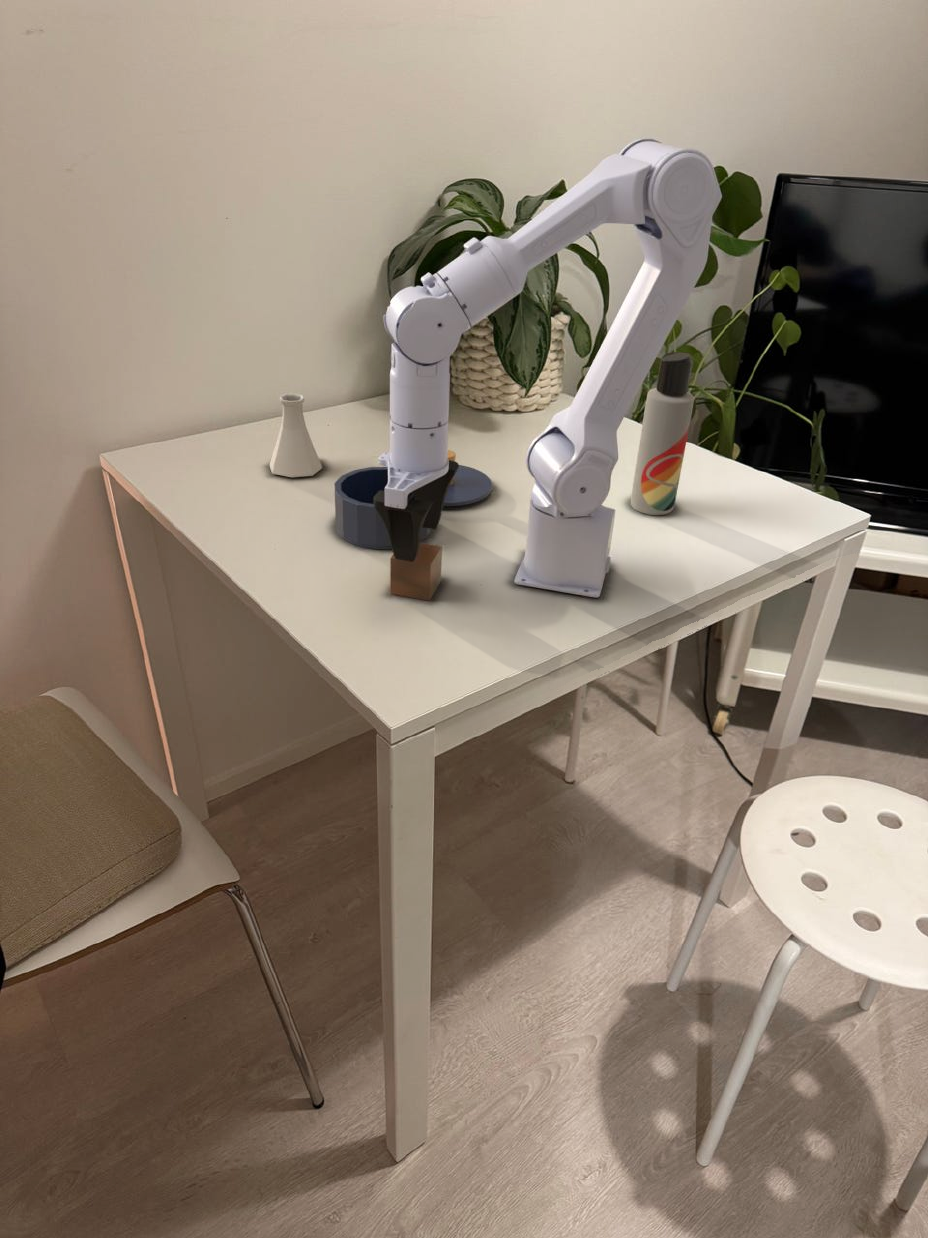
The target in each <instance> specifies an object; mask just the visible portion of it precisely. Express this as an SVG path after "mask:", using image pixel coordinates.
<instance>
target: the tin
mask: <svg viewBox="0 0 928 1238" xmlns="http://www.w3.org/2000/svg"><path fill="white" fill-rule="evenodd" d="M387 484H388V467H387V466H369V467H363V468H359V469H354V470H352V471H349V472H347V473H344V474H341V476H340V477H339V478H338V479H336V480H335V482H334V484H333V486H334V514H335V530H336V533H337V534H338V536H339V537H340V538H341V539H343V540H344V541H345V542H346V543H347V542H348V543H349V544H350V545H351V544H352V545H354V546H356V547H360V548H365V549H372V550H392V546H391V543H390V539H389V535H388V532H387V529H386V526H385V524H384V522H383V520H382V518H381V516H380V515H379V513H378V512H377V510H376V509H375V508H374V496H375V495H376V494H377V493H378V492H379V491H380V490H381V491H385V487H386V485H387ZM431 532H432V529H429V528H424V527H422V531H421V537H420V543H422V542H423V541H425V540H426V539H427V538H428V537H429V536H430V534H431Z"/></svg>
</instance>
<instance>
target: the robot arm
mask: <svg viewBox="0 0 928 1238" xmlns="http://www.w3.org/2000/svg"><path fill="white" fill-rule="evenodd" d="M722 198H723V195H722V192H721V188H720V184H719V181H718V177H717V174H716V170H715V167H714V166H713V163H712V162H711V160H710V159H709V157H708V156H707V155H706V154H705V153H703V152H702V151H700V150H698V149H695V148H692V147H687V148H685V147H684V148H683V147H679V146H674V145H670V144H665V143H662V142H661V141H658V140H656V139H653V138H647V137H643V138H639V139H635V140H633V141H631V142H629V143H628V144H627V145H625V146H624V147H623V148H622V149H621V151H620V152H619V153H617V152H616V153H613V154H611V155H609V156H607V157H605V158H604V159H603V160H601V161H600V163H598V164H597V166H596V167H595V168H594V169H593V170H592V171H591V172H590V173H589V174H587V175H586V176H585V177H583V179H581V180H580V181H579V182H577V183H576V184H575V185H573V186H572V187H571V188H570V189H568V190H567V191H566V192H565V193H563V194H562V195H561V196H560V197H558V198H557V199H556V200H554V201H553V202H551V204H550V205H548V206H547V207H546V208H544V209H543V210H542V211H541V212H539V213H538V214H537V215H535V216H534V217H533V218H532V219H531V220H529V221H528V222H527V223H526V224H524V225H523V226H522V227H521V228H519V229H518V230H516V232H514V233H513V234H512V235H511V236H509V237H508V238H501V237H498V236H493V235H487V236H486V237H484V238H483V239H481V240H480V239H478V238H477V237H472V238H471V239H469V240H468V241H466V242H465V243H464V244H463V248H464V249H465V252H463V253H462V254H460V256H458V257H456V258H455V259H454V260H452V261H450V262H449V263H448V264H446V265H445V266H444V267H443V268H441V269H440V270H438V271H436V273H434V274H432V273H430V272H427V273H426V274H424V275H423V276H421V278H420V281H421V283H422V285H423V286H421V285H416V286H412V285H410V286H408V287H404V288H403V289H401V290H399V291H398V292H397V293H396V294H395V295H394V296H393V297H392V298H391V300H390V301H389V303H390V304H389V305H388V306H387V309H386V313H385V314H383V317H382V318H383V319H382V321H383V325H384V329H385V331H386V332H387V334H388V336H389V337H390V338H391V340H392V341H393V342H392V343H391V354H390V363H391V367H390V371H389V451H385V452H382V454H381V455H379V457H378V465H379V466H381V467H388V484H387V485H386V487H385V491H381V490H380V491H379V492H378V493H377V494H376V495H375V496H374V508H375V509H376V510H377V512H378V513H379V515H380V516H381V518H382V520H383V522H384V524H385V526H386V529H387V532H388V535H389V539H390V543H391V546H392V549H391V550H392V553H393V554H394V557H395V559H399V560H405V561H410V562H414V560H415V559H416V556H417V553H418V549H419V543H421V542H420V537H421V531H422V527H424V528H429V529H431V530H436V529H438V525H439V523H440V520H441V517H442V513H443V510H444V509H443V508H444V506H443V505H444V501H445V497H446V494H447V491H448V488H449V486H450V483H451V481H452V479H453V477H454V475H455V474H456V472H457V470H458V469H459V465H460V464H459V463H458V462H457V461H456V460H455V461H451V460H448V454H447V453H448V450H449V416H450V415H449V413H450V388H451V385H450V384H451V373H450V366H451V365H450V364H451V363H450V360H451V358H450V357H451V356H452V355H453V354H454V353H455V351H456V349H457V348H458V346H459V344H460V340H461V337H462V335H463V333H465V332H467V331H469V330H470V329H471V328H473V327H474V326H476V325H477V324H479V323H480V322H481V321H483V320H484V319H486V318H487V317H489V316H490V315H492V313H494V312H495V311H497V310H498V309H500V308H501V307H503V306H504V305H506V304H507V303H508V302H509V301H511V300H512V299H514V298H515V297H517V296H518V295H520V294H521V293H522V292H523V289H524V287H525V284H526V280H527V276H528V273H529V272H530V271H531V270H532V269H534V268H536V267H537V266H538V265H540V264H542V263H543V262H545V261H546V260H548V259H550V258H551V257H552V256H554V255H556V254H558V253H559V252H560V251H562V250H563V249H565V248H567V247H569V246H570V245H572V244H573V243H575V242H577V241H578V240H579V239H581V238H583V237H584V236H586V235H587V234H589V233H590V232H592V231H594V230H595V229H597V228H599V227H600V226H601V225H604V224H622V225H633V227H634V229H635V232H636V235H637V237H638V241H639V244H640V247H641V249H642V250H641V251H642V253H643V257H644V261H643V263H642V265H641V266H640V269H639V270H638V273H637V275H636V277H635V278H634V280H633V283H632V284H631V287H630V288H629V291H628V292H627V294H626V296H625V298H624V299H623V302H622V304H621V306H620V307H619V309H618V312H617V314H616V316H615V317H614V320H613V321H612V324H611V325H610V328H609V330H608V332H607V334H606V336H605V337H604V339H603V341H602V343H601V345H600V348H599V350H598V351H597V353H596V355H595V357H594V359H593V360H592V363H591V365H590V367H589V369H588V371H587V373H586V375H585V377H584V378H583V381H582V383H581V385H580V387H579V388H578V391H577V392H576V394H575V397H574V398H573V401H572V402H571V405H570V406H567V407H566V408H564V409H562V410H560V411H558V412H557V413H555V414H554V415H553V416H552V418H551V420H550V422H549V423H548V425H547V427H546V428H545V429H544V430H543V431H542V432H541V433H540V434H538V435H537V436H536V437H535V438H534V439H533V440H532V441H531V443H530V445H529V446H528V448H527V451H526V454H525V455H526V456H525V465H526V468H527V471H528V473H529V474H530V476H531V477H532V478H533V479H534V480H533V488H532V490H531V493H530V498H529V508H528V521H527V529H526V530H527V531H526V540H525V549H524V550H525V552H524V557H523V559H522V561H521V563H520V566H519V567H518V570H517V572H516V575H515V577H514V581H513V582H514V584H516V585H520V586H524V587H525V586H526V587H532V588H536V589H543V590H549V591H554V592H561V593H567V594H572V595H579V596H583V597H590V598H594V599H595V598H599V597H600V596H601V592H602V589H603V585H604V581H605V578H606V574H609V571H610V567H611V561H612V557H611V556H610V553H611V552H610V551H611V544H612V539H613V531H614V526H615V519H616V509H615V508H612V507H609V506H606V505H603V503H604V502H605V501H606V500H607V498H608V496H609V493H610V490H611V483H612V482H611V481H612V473H613V471H614V469H615V466H616V465H617V463H618V461H619V446H618V430H619V428H620V426H621V424H622V422H623V421H624V419H625V417H626V415H627V413H628V411H629V409H630V408H631V405H632V403H633V402H634V400H635V398H636V396H637V394H638V392H639V390H640V389H641V387H642V386H643V383H644V381H645V379H646V377H647V376H648V374H649V373H650V370H651V369H652V366H653V364H654V363H655V361H656V359H657V357H658V355H659V354H660V352H661V349H662V348H663V346H664V344H665V342H666V340H667V338H668V337H669V335H670V334H671V332H672V329H673V327H674V326H675V324H676V322H677V320H678V318H679V316H680V315H681V313H682V311H683V309H684V307H685V305H686V304H687V302H688V300H689V298H690V295H692V292H693V291H694V288H695V287H696V285H697V283H698V281H699V280H700V277H701V276H702V274H703V272H704V270H705V267H706V264H707V262H708V256H709V249H710V248H709V247H710V240H711V231H712V223H713V216H714V213H715V212H716V210H717V208H718V206H719V204H720V202H721V200H722ZM393 554H392V555H393Z"/></svg>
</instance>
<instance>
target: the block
mask: <svg viewBox="0 0 928 1238" xmlns="http://www.w3.org/2000/svg"><path fill="white" fill-rule="evenodd" d="M442 559H443V546H442V545H438V544H432V543H431V544H430V543H425V542H420V543H419V549H418V553H417V556H416V559H415V560H414V562H410V561H405V560H399V559H395V557H394V554H392V555H391V556H390V561H389V562H390V564H389V567H390V568H389V569H390V571H389V573H390V584H389V585H390V587H389V588H390V592H389V593H390V594H389V595H394V596H402V597H404V598H411V599H417V600H422V601H429V602H430V601H431V599H432V597H433V596H434V594H435V592H436V590H437V589H438V587H439V585H440V584H441V582H442V563H443V562H442Z"/></svg>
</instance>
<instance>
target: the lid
mask: <svg viewBox="0 0 928 1238" xmlns="http://www.w3.org/2000/svg"><path fill="white" fill-rule="evenodd" d="M447 454H448V460H451V461H455V462H456V455H457V454H456V452H455V451H454V450H450V449H448V453H447ZM492 490H493V482H492V480H491V478H490V477H489V476H488V475H487V474H485V473H484V472H483V471H480V470H478V469H476V468H473V467H471V466H467V465H463V464H459V469H458V470H457V472H456V474H455V475H454V477H453V479H452V481H451V483H450V486H449V488H448V491H447V494H446V497H445V501H444V505H443V507H456V506H458V507H459V506H465V505H470V504H475V503H477V502H480V501H482V500H484V499H485V498H487V497H488V496H489V495H490V494H491V492H492Z"/></svg>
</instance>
